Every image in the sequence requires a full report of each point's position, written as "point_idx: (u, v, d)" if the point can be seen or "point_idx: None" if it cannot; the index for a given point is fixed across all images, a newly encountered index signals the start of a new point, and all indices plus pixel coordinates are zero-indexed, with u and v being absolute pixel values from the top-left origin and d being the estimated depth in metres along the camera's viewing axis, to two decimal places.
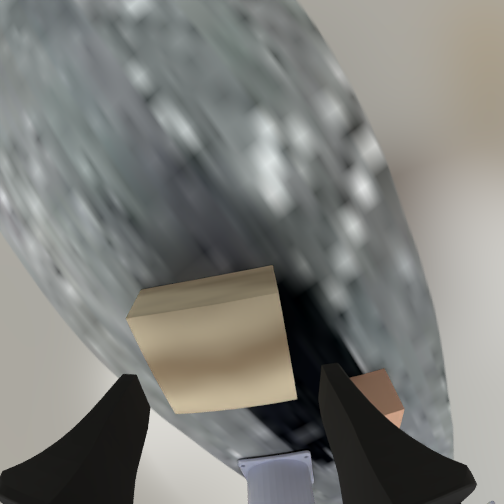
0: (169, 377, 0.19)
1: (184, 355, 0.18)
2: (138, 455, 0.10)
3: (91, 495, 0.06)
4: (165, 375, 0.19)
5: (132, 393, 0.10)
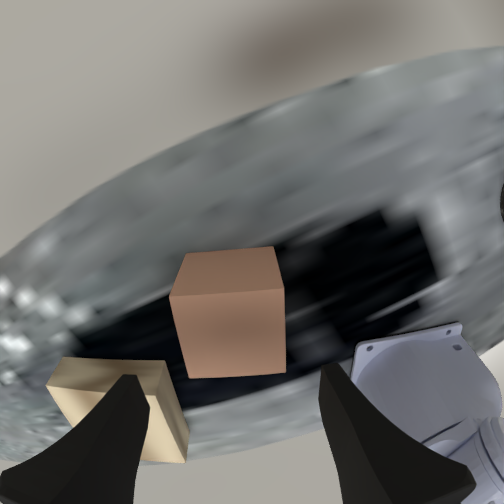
0: None
1: None
2: (138, 455, 0.10)
3: (91, 495, 0.06)
4: None
5: (132, 393, 0.10)
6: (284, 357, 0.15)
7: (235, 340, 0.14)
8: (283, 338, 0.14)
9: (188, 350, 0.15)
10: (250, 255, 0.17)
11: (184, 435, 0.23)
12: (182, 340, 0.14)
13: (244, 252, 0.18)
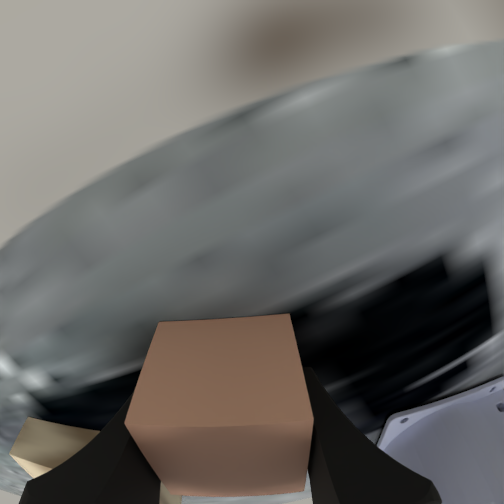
0: None
1: None
2: None
3: (123, 502, 0.06)
4: None
5: None
6: (303, 480, 0.09)
7: (233, 470, 0.08)
8: (305, 466, 0.08)
9: (165, 475, 0.08)
10: (255, 334, 0.11)
11: None
12: (154, 465, 0.08)
13: (246, 326, 0.11)
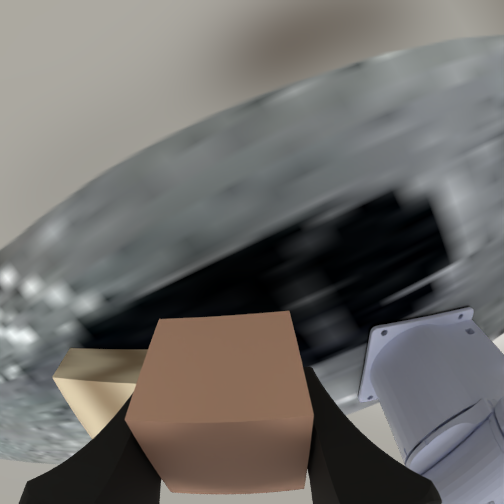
0: None
1: None
2: None
3: (123, 502, 0.06)
4: None
5: None
6: (304, 478, 0.09)
7: (233, 467, 0.08)
8: (305, 463, 0.08)
9: (165, 472, 0.08)
10: (255, 332, 0.11)
11: None
12: (155, 462, 0.08)
13: (246, 323, 0.11)
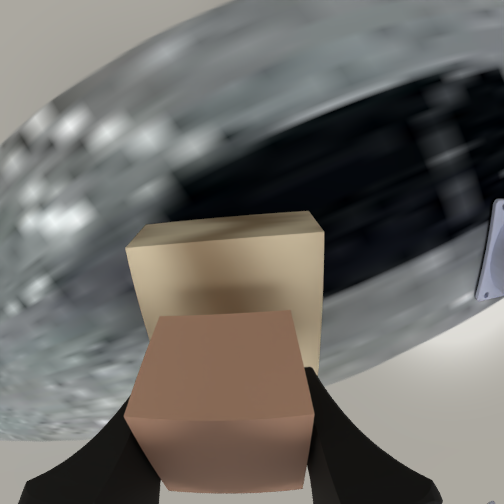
0: None
1: None
2: None
3: (122, 501, 0.06)
4: None
5: None
6: (302, 478, 0.09)
7: (232, 466, 0.08)
8: (304, 463, 0.08)
9: (163, 470, 0.08)
10: (256, 330, 0.11)
11: None
12: (153, 460, 0.08)
13: (246, 322, 0.11)
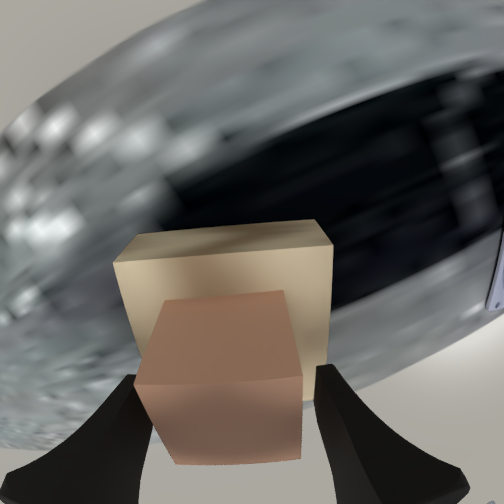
0: None
1: None
2: (143, 455, 0.10)
3: (97, 496, 0.06)
4: None
5: (137, 393, 0.10)
6: (299, 446, 0.10)
7: (233, 433, 0.09)
8: (299, 428, 0.09)
9: (170, 440, 0.10)
10: (251, 308, 0.12)
11: None
12: (160, 430, 0.09)
13: (243, 301, 0.12)
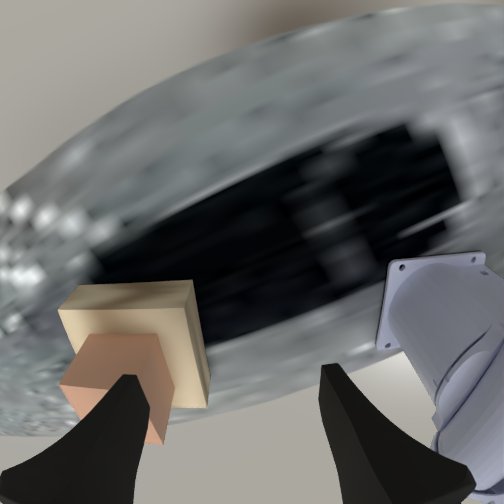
0: None
1: None
2: (138, 455, 0.10)
3: (91, 495, 0.06)
4: None
5: (132, 393, 0.10)
6: (157, 435, 0.15)
7: None
8: (150, 423, 0.15)
9: None
10: (132, 345, 0.17)
11: (206, 376, 0.23)
12: (78, 412, 0.15)
13: (130, 339, 0.18)
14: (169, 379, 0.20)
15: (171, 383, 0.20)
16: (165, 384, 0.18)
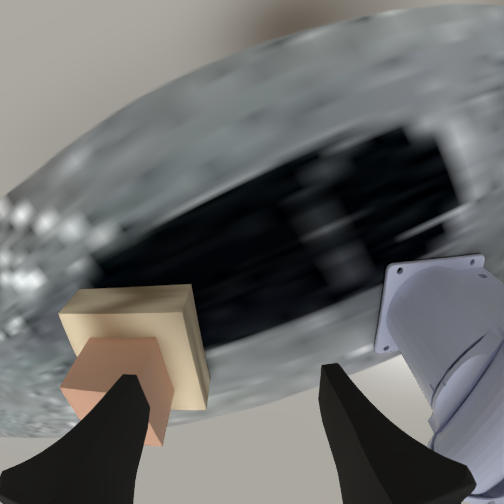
0: None
1: None
2: (138, 455, 0.10)
3: (91, 495, 0.06)
4: None
5: (132, 393, 0.10)
6: (156, 437, 0.16)
7: None
8: (149, 425, 0.15)
9: None
10: (131, 348, 0.18)
11: (205, 378, 0.23)
12: (78, 415, 0.15)
13: (129, 343, 0.18)
14: (169, 381, 0.20)
15: (171, 386, 0.20)
16: (164, 387, 0.19)
